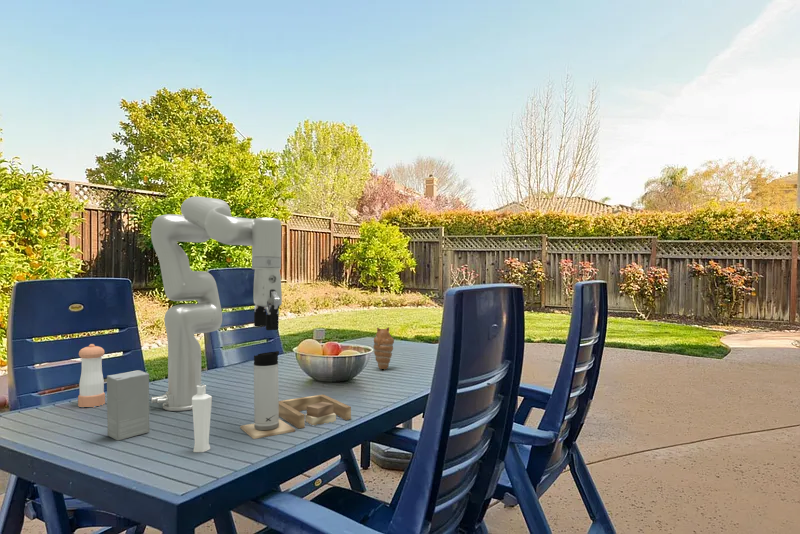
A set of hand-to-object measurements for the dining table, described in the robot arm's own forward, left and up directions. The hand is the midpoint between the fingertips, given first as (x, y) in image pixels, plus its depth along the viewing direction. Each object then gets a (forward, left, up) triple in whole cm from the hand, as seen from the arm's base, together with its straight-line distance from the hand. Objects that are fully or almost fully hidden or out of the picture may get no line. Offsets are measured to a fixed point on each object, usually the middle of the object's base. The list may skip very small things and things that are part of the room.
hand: (265, 327), depth 139 cm
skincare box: (-31, +14, -27) cm, 44 cm away
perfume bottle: (-18, -8, -27) cm, 33 cm away
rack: (+15, +3, -27) cm, 31 cm away
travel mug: (0, -2, -26) cm, 26 cm away
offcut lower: (+15, -3, -27) cm, 31 cm away
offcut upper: (+14, -3, -25) cm, 29 cm away
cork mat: (0, -2, -27) cm, 27 cm away
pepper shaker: (-37, +54, -27) cm, 71 cm away
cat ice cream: (+69, +51, -27) cm, 90 cm away
